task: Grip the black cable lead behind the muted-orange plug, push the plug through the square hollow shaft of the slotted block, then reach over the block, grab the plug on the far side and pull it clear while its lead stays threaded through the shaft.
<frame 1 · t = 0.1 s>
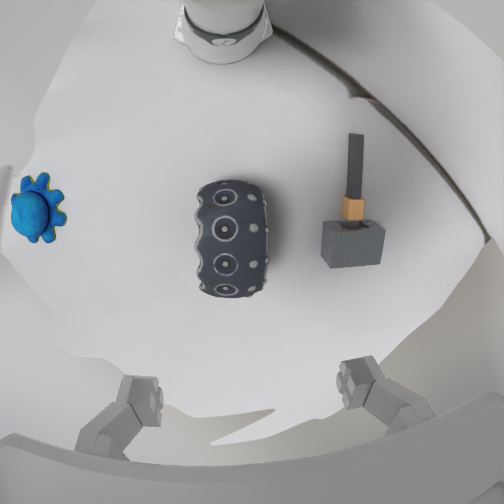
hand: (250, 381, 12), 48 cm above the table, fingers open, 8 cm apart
dotted bowl: (229, 220, 59), on the table
plush toy: (38, 208, 52), on the table
slotted block: (346, 237, 63), on the table
plug: (349, 205, 60), on the table
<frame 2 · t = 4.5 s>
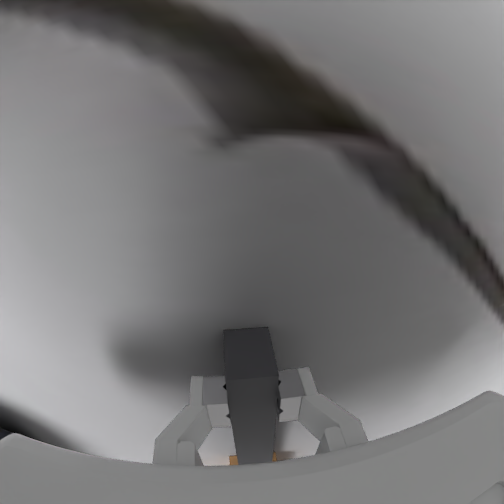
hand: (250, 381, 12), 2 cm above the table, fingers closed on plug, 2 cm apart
plug: (252, 464, 19), on the table, touching gripper
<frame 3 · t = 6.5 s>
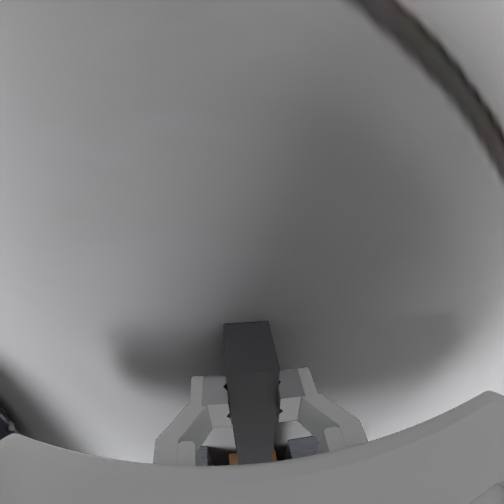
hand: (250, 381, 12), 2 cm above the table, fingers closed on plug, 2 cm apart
slotted block: (248, 463, 19), on the table
plug: (252, 461, 19), on the table, touching gripper
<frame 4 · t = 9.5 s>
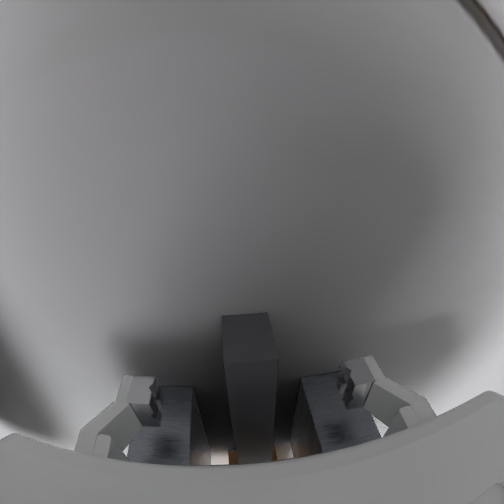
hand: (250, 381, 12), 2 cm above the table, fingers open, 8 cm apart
slotted block: (248, 420, 16), on the table
plug: (252, 459, 19), on the table
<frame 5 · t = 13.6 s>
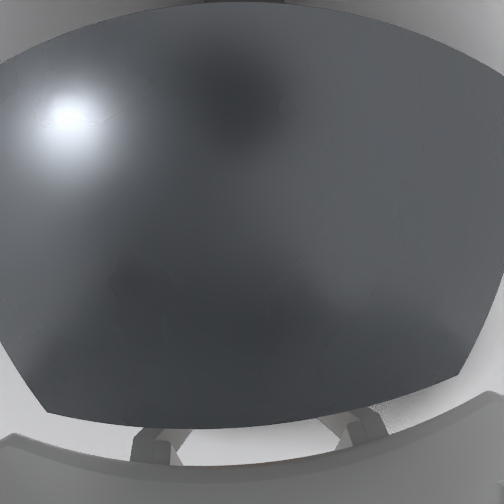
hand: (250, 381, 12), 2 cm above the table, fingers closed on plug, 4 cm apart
slotted block: (239, 190, 10), on the table
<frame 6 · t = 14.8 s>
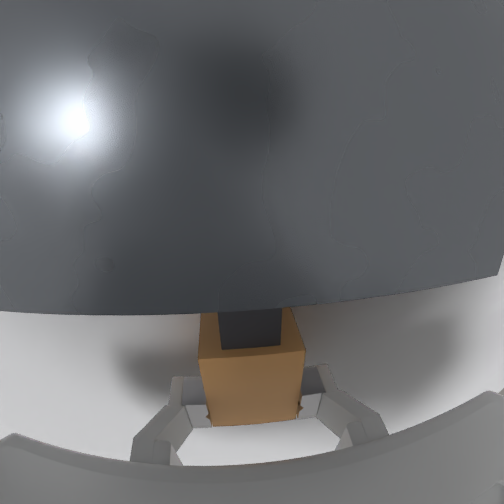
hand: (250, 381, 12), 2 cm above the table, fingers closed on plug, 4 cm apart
slotted block: (237, 96, 9), on the table
plug: (246, 339, 13), on the table, touching gripper
when the fingers open (2 cm above the table, at t = 15.8 s): plug stays where it is, on the table.
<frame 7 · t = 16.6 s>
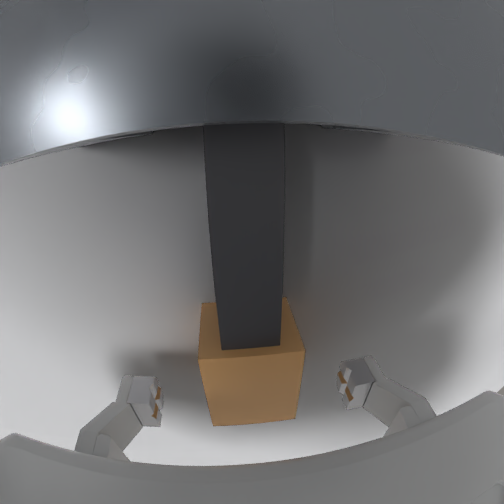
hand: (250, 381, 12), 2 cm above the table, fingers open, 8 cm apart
slotted block: (236, 24, 8), on the table
plug: (245, 338, 13), on the table
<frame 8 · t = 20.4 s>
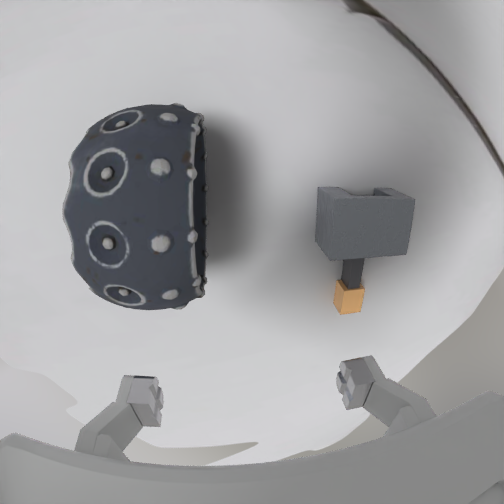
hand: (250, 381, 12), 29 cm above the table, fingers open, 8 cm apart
dotted bowl: (168, 186, 36), on the table
slotted block: (354, 213, 40), on the table
plug: (344, 290, 46), on the table
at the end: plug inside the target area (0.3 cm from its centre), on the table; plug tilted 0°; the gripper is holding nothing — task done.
